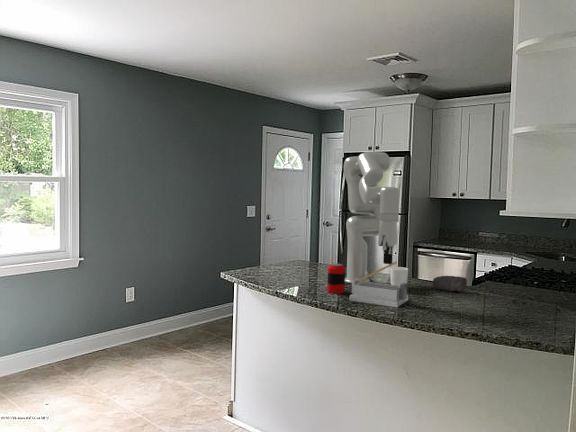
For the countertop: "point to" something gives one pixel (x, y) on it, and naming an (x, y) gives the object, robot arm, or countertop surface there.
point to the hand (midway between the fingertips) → (387, 263)
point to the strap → (375, 272)
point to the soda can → (336, 279)
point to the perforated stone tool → (450, 283)
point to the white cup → (398, 275)
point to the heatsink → (379, 293)
